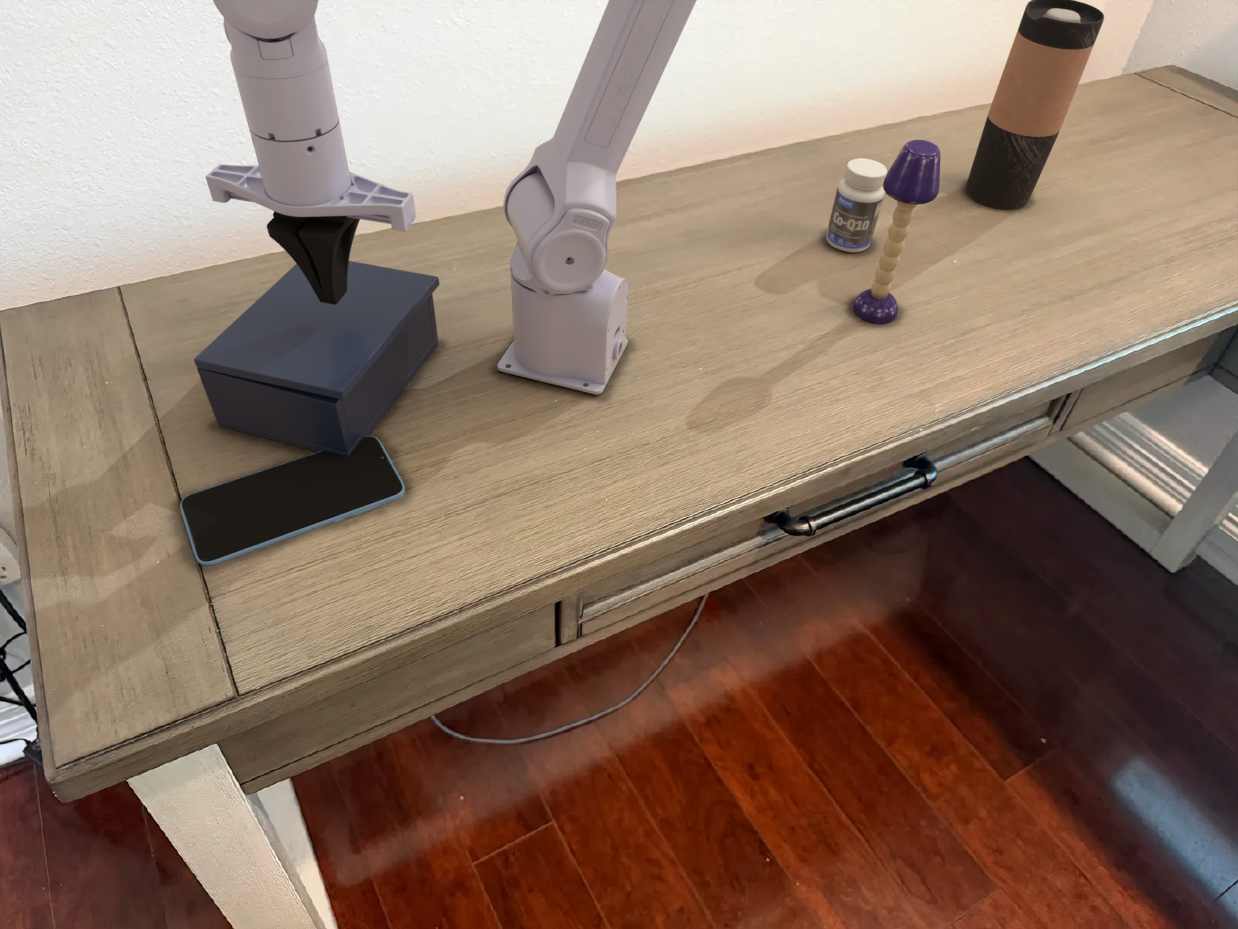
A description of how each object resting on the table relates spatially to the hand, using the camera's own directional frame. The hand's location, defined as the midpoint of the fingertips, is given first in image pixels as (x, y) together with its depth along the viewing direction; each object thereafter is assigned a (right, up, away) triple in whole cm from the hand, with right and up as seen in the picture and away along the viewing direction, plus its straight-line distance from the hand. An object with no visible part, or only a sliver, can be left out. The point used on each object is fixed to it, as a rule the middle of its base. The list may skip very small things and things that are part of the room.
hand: (333, 296), depth 68 cm
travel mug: (+65, +18, +35) cm, 76 cm away
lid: (-1, -2, +2) cm, 3 cm away
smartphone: (-2, -16, -2) cm, 16 cm away
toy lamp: (+46, +2, +17) cm, 49 cm away
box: (-2, -6, +7) cm, 9 cm away
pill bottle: (+46, +11, +26) cm, 54 cm away
